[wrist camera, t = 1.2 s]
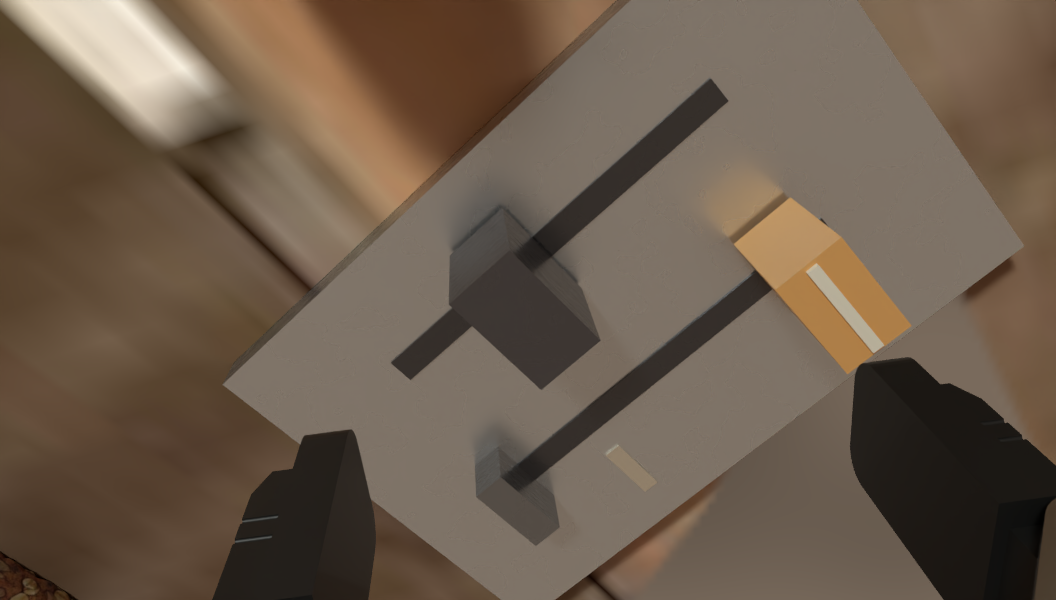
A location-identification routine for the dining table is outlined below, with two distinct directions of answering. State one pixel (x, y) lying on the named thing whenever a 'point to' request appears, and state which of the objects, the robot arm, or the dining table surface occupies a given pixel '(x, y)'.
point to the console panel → (621, 281)
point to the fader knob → (823, 284)
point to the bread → (25, 584)
